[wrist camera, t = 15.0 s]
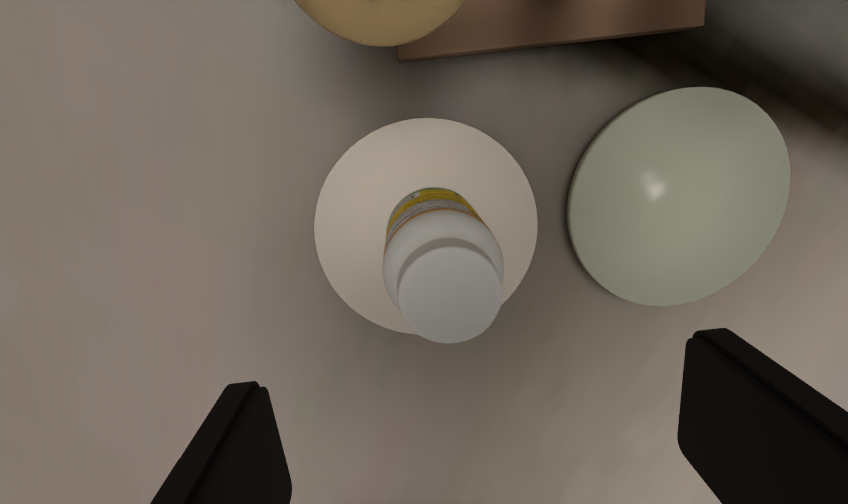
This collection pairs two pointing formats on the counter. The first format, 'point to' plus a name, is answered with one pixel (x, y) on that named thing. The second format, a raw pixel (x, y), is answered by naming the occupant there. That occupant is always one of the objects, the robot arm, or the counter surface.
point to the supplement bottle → (442, 266)
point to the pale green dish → (678, 195)
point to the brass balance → (496, 22)
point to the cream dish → (402, 174)
